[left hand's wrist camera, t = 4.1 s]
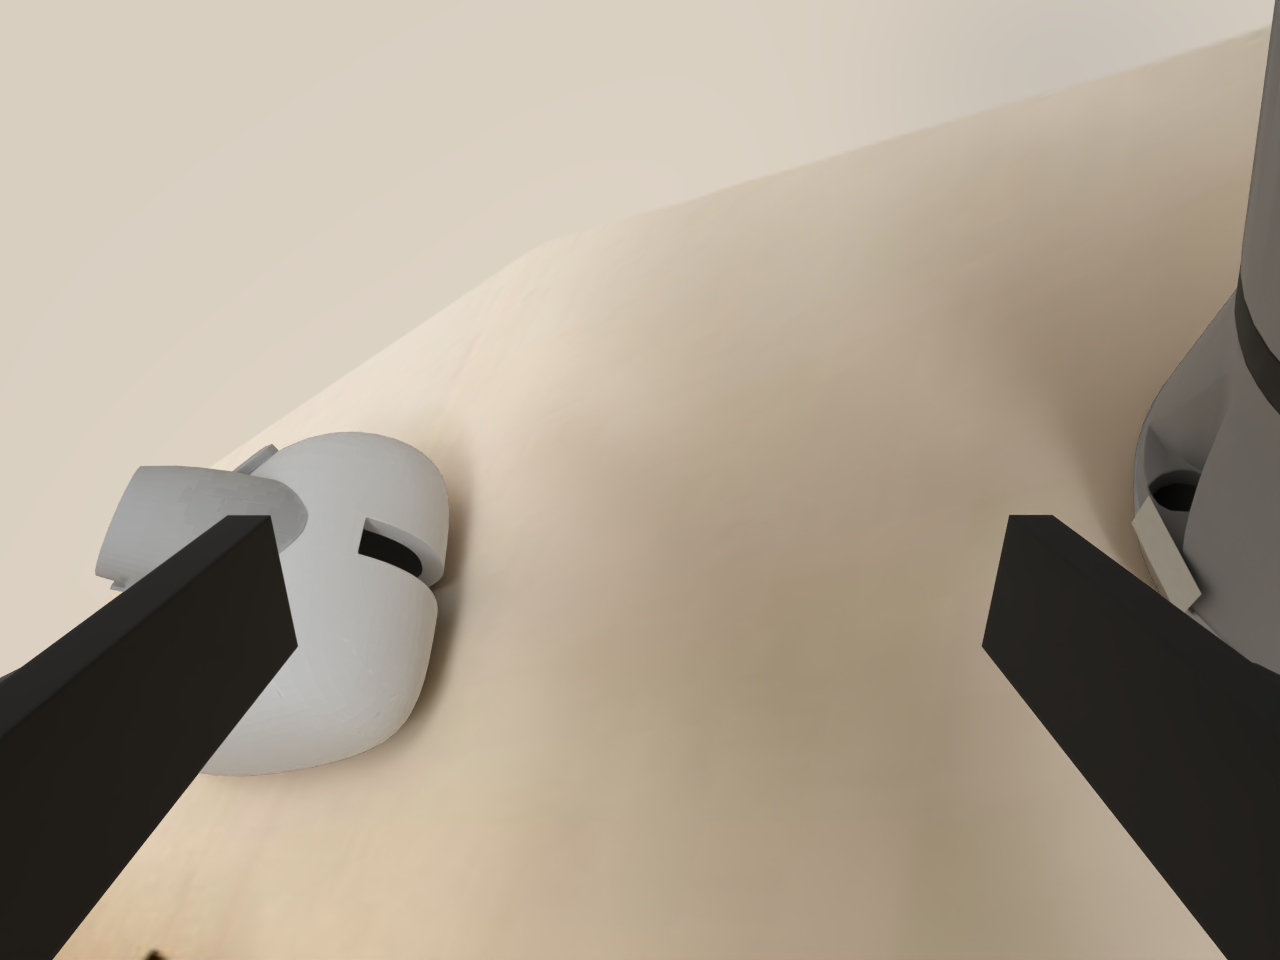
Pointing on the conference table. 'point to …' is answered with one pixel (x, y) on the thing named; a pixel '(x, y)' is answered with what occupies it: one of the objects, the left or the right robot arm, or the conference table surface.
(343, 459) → the projector
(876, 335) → the conference table surface
